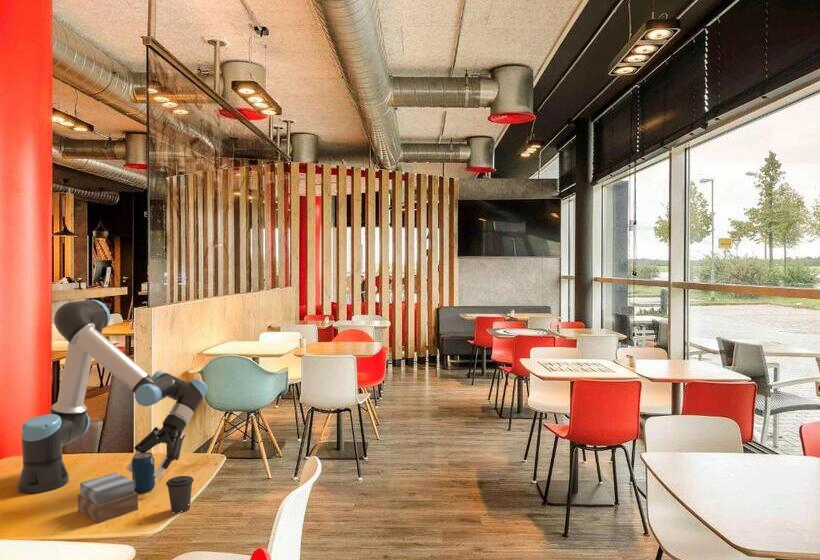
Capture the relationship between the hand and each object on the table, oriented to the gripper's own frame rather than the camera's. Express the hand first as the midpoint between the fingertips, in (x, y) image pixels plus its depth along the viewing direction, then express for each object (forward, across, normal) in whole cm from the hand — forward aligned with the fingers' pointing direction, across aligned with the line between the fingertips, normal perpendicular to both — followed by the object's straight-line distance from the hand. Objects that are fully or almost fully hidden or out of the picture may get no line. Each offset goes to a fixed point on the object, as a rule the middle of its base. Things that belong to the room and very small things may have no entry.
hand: (142, 474), depth 199 cm
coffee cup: (+8, -24, -1) cm, 25 cm away
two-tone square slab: (+15, -4, +7) cm, 17 cm away
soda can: (+4, 0, -5) cm, 6 cm away
